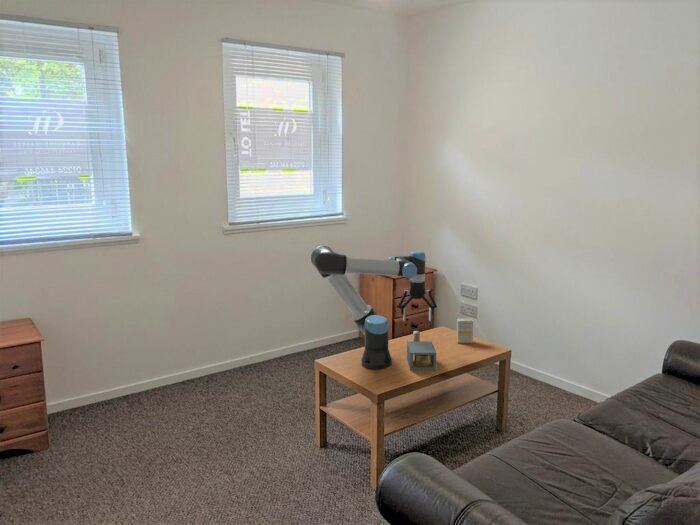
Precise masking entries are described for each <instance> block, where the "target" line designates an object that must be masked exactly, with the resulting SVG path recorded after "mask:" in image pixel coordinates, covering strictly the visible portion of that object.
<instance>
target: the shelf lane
mask: <svg viewBox="0 0 700 525" xmlns="http://www.w3.org/2000/svg"><path fill="white" fill-rule="evenodd" d="M415 355H428V361H429V362H430V366H429V365H428V366H424V367H416V366H414V356H415ZM406 360H407V363H408V368H409V370H410V371H411V372H413V371H437V351H436V347H435V345H434V344H433V342H432V341H431V340H430V341H429V340H425V341H423V340H422V341H421V340H420V341H413V340H411V341H409V340H407V341H406Z"/></svg>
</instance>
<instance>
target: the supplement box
mask: <svg viewBox="0 0 700 525" xmlns="http://www.w3.org/2000/svg"><path fill="white" fill-rule="evenodd" d="M456 323H457V324H456V342H457V344H473V343H474V342H473V341H474V340H473V339H474V338H473V335H474V320H473V318H467V317H466V318H461V317H460V318H459V317H458V318H457V321H456Z"/></svg>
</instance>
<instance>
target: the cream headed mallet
mask: <svg viewBox="0 0 700 525" xmlns="http://www.w3.org/2000/svg"><path fill="white" fill-rule="evenodd" d="M412 333H413V336H412V341H421V340H420V339H421V338H420V337H421V335H420V334H421V332H420V331H419V330H414V331H413V332H412ZM413 364H414V367H424V366H429V355H414V360H413Z"/></svg>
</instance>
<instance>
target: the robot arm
mask: <svg viewBox="0 0 700 525" xmlns="http://www.w3.org/2000/svg"><path fill="white" fill-rule="evenodd" d="M310 260H311V263H312V265H313V266H314V268H316V270H317V271H318V273H319V274H320V276H321V277H322V278H323V279H327V280H328V282H329V283H330V284H331V286H332V287H333V288H334V291H335V292H336V293H337V294H338V296H339V297H340V298H341V300H342V301H343V302H344V304H345V306H346V307H347V309H348V310H349V311H350V312H351V314H352V315H351V316H352V317H351V319H352V320H353V322H354V323H355V325H356V327H357V328H358V330H359V331H360V332H361V333H362V334H363V336H364V350H363V353H362V356H361V358H360V359H361V365H362V367H365V369H370V370H383V369H388V368H389V367H392V364H393V359H392V356H391V352H390V350H389V328H390V325H389V320H388V318H387V317H385V316H382V315H381V314H380V315H379V314H377V313H376V311H375V310H374V308H373V307H372V305H371V304H366V301H365V300H364V299H363V298H362V296H361V295H360V294H359V292H358V290H357V289H356V287H355V286H354V285H353V283H352V282H351V280H350V278H348V276H347V274H360V275H361V274H362V275H372V276H373V275H378V276H389V277H390V276H391V277H392V276H393V277H404V278H405V279H410V282H409V283H410V284H409V286H410V288H409V290H407V289H404V290H403V294H402V297H401V298H400V300H399V302H398V304H397V308H398V309H400V314H401V316H402V322H406V307H407V305H408V304H409V303H410V302H411V301H412V300H413V299H414V300H421V299H423V301H425V303H426V304H427V305H428V306H429V308H428V320H429V322H432V315H434V309H435V308H437V307H438V305H437V304H436V302H435V300H434V297H433V295H432V291H431V289H428V290H426V282H425V280H426V254H425V252H424V251H421V250H414V251H411V252H410V255H406V256H403V255H402V256H401V255H400V256H389V257H388V258H387V259H382V258H380V259H379V258H368V257H367V258H366V257H363V258H362V257H354V256H353V257H351V256H347V254H341V253H338V252H335V251H333V249H332V248H331V247H329V246H327V245H319V246H316V247H315V248H314V249H313V250H312V252H311V254H310ZM408 294H409V297H408V298H407V295H408ZM425 295H428V296H429V299H430V300H431V302H430V301H429V300H428V299H427V298H426V296H425ZM406 298H407V299H406ZM404 301H405V302H404Z"/></svg>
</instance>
